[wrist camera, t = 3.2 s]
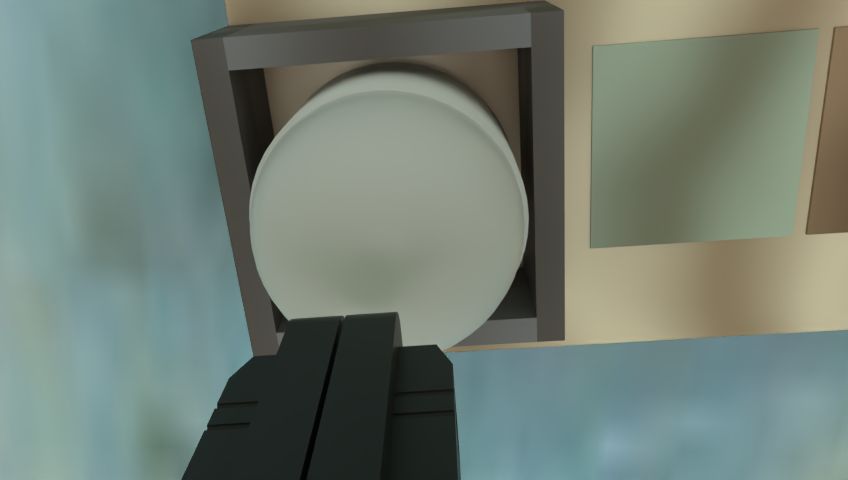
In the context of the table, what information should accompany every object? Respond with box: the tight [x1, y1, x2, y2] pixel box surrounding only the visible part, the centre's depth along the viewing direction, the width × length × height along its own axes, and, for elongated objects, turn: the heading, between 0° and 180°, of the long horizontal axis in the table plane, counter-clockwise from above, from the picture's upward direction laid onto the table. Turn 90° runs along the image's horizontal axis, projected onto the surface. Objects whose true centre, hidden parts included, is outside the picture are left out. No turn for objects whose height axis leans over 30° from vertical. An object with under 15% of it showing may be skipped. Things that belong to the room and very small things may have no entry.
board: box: [191, 0, 848, 356], centre depth 18 cm, size 28×12×5 cm, turn 94°
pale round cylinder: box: [249, 62, 529, 351], centre depth 15 cm, size 6×6×6 cm
